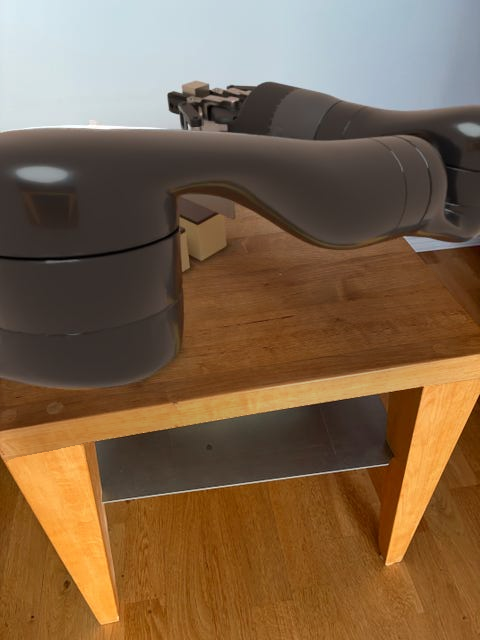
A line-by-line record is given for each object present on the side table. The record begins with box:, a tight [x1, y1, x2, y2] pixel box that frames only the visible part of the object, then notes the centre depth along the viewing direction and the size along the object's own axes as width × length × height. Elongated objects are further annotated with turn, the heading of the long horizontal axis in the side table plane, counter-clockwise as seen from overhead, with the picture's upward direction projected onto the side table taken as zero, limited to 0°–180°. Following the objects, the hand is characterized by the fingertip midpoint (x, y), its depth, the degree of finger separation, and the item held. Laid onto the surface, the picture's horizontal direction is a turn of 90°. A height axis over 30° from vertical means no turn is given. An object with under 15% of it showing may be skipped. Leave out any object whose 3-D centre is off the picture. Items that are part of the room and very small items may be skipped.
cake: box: [179, 197, 227, 273], centre depth 81 cm, size 16×14×7 cm
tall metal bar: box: [181, 80, 236, 221], centre depth 60 cm, size 10×2×15 cm, turn 47°
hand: (180, 98), depth 58 cm, fingers closed on tall metal bar, 2 cm apart
